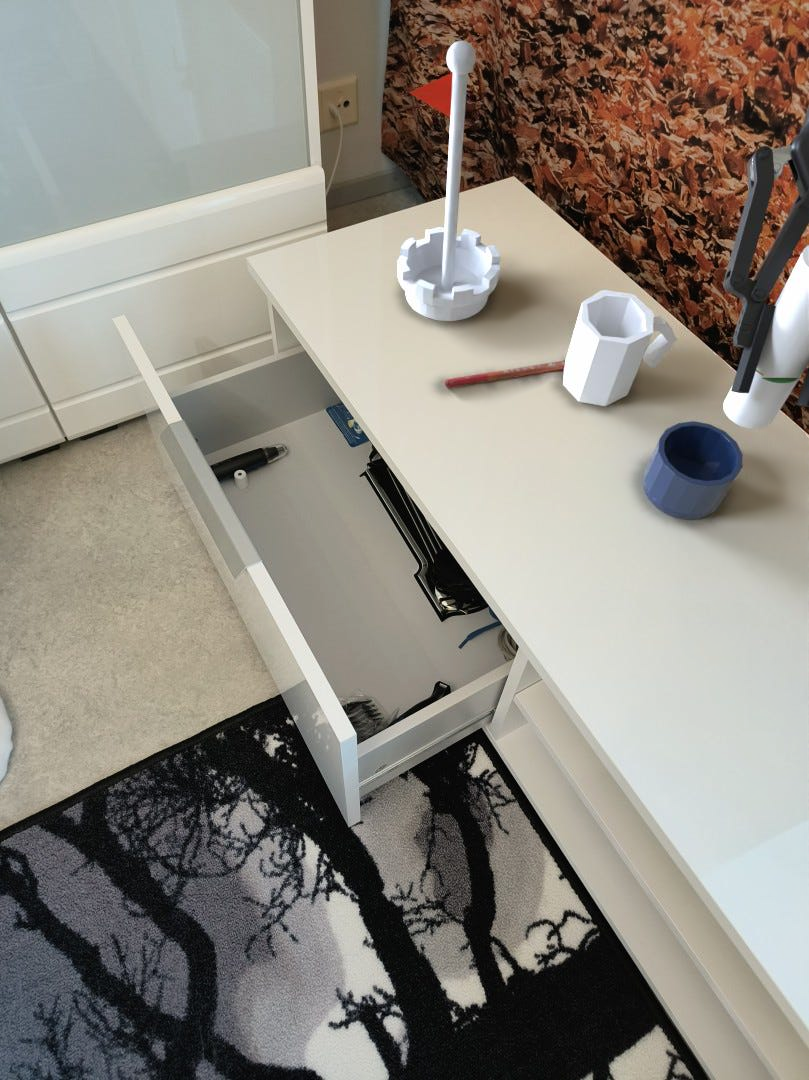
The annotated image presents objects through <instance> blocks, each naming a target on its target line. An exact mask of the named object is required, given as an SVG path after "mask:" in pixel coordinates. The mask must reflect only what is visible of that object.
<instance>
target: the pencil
mask: <svg viewBox="0 0 809 1080" xmlns="http://www.w3.org/2000/svg"><path fill="white" fill-rule="evenodd" d="M565 361H566V359H565V360H559V361H553V362H552V361H551V362H547V363H546V362H545V363H541V364H540V363H539V364H535V365H527V366H522V367H514V368H509V369H503V370H497V371H491V372H483V373H478V374H477V373H476V374H471V375H464V376H458V377H452V378H446V379H445V380H444V386H445V387H446V389H447V388H453V387H454V388H455V387H461V386H466V385H467V386H469V385H474V384H480V383H487V382H492V381H493V382H494V381H498V380H506V379H511V378H519V377H524V376H530V375H537V374H542V373H549V372H555V371H556V372H557V371H562V370H563V371H564V367H565Z"/></svg>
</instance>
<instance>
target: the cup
mask: <svg viewBox="0 0 809 1080" xmlns="http://www.w3.org/2000/svg"><path fill="white" fill-rule="evenodd" d="M743 460H744V454H743V452H742V450H741V448H740V446H739V444H738V442H737V441H736V440H735V439H734V438H733V437H732V436H731V435H730V434H729V433H728V432H727V431H725V430H723V429H721V428H719V427H717V426H715V425H713V424H710V423H707V422H701V421H694V420H693V421H692V420H691V421H683V422H677V423H676V424H673V425H672V426H670V427H668V428H666V429H665V431H664V432H663V433H662V434H661V435H660V437H659V439H658V441H657V443H656V445H655V448H654V450H653V453H652V454H651V457H650V459H649V461H648V464H647V466H646V468H645V472H644V475H643V477H642V486H643V490H644V493H645V495H646V497H647V499H648V500H649V502H650V503H651V504H652V505H653V506H654V507H655V508H656V509H658V510H659V511H661V512H662V513H664V514H666V515H668V516H671V517H672V518H676V519H681V520H698V519H703V518H706V517H708V516H710V515H711V514H713V513H714V512H715V511H716V510H717V509H718V507H719V506H720V505H721V503H722V501H723V500H724V498H725V497H726V495H727V493H728V492H729V490H730V489H731V487H732V485H733V484H734V482H735V480H736V479H737V477H738V476H739V474H740V473H741V471H742V469H743V467H744V463H743V462H744V461H743Z"/></svg>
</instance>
